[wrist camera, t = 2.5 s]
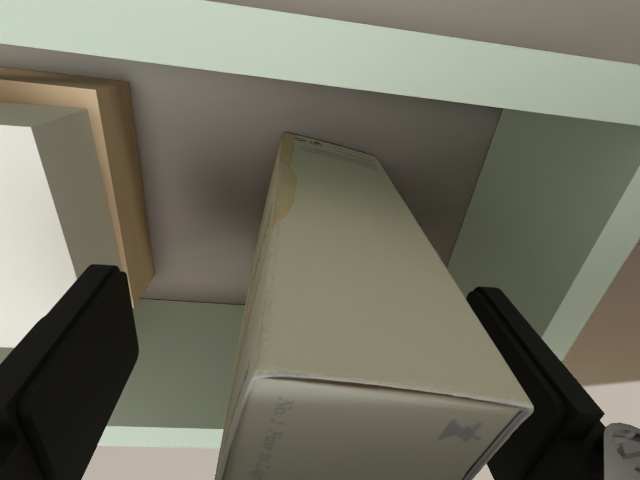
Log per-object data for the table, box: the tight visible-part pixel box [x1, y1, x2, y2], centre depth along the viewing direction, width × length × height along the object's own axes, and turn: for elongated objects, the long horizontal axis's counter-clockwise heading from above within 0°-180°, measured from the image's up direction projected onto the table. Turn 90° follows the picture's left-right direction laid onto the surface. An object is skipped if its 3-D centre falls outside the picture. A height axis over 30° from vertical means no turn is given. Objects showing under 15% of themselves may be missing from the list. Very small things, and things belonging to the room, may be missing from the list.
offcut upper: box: [0, 102, 123, 348], centre depth 12 cm, size 5×8×3 cm, turn 175°
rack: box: [0, 0, 640, 448], centre depth 13 cm, size 22×14×7 cm, turn 83°
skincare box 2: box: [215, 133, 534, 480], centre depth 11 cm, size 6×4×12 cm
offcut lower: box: [0, 67, 154, 308], centre depth 15 cm, size 5×9×3 cm, turn 173°
